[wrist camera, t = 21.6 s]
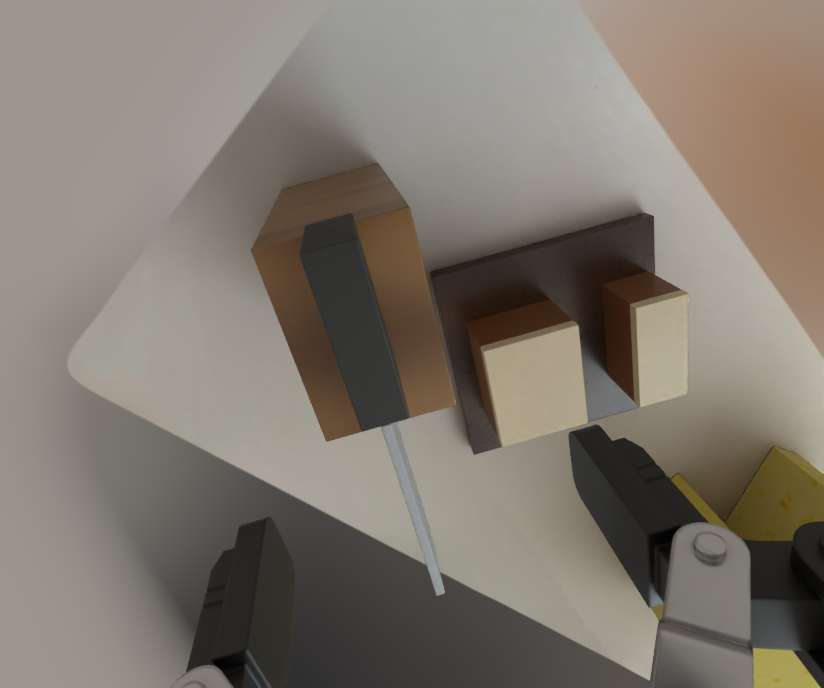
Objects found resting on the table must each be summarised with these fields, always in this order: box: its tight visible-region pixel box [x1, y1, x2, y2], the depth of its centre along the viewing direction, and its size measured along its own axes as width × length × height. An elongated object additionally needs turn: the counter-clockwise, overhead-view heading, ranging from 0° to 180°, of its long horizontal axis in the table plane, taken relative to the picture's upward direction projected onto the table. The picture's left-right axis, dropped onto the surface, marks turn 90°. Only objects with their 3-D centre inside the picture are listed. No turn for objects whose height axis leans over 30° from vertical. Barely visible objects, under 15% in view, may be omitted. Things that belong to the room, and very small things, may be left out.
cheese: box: [651, 446, 824, 688], centre depth 60 cm, size 26×26×15 cm
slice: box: [602, 271, 689, 408], centre depth 47 cm, size 10×4×6 cm, turn 14°
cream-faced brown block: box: [466, 299, 588, 447], centre depth 46 cm, size 10×8×6 cm
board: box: [430, 213, 655, 455], centre depth 50 cm, size 20×20×2 cm
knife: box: [299, 213, 445, 595], centre depth 27 cm, size 22×2×5 cm, turn 14°
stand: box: [251, 163, 456, 441], centre depth 36 cm, size 12×8×18 cm, turn 13°
